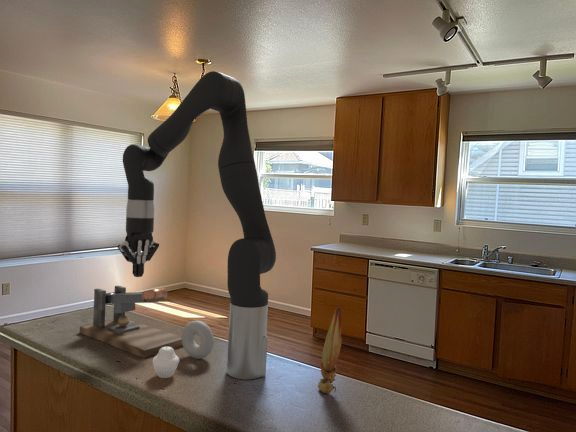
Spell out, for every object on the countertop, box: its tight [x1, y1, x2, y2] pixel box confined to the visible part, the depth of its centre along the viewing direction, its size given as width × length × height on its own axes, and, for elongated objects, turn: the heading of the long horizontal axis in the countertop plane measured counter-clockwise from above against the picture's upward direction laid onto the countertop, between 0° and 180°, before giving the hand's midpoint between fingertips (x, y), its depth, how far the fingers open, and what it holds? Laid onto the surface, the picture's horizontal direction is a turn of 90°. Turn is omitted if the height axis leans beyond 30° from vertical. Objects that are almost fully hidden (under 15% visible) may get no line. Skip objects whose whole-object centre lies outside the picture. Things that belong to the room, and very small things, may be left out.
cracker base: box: [79, 285, 183, 359], centre depth 130 cm, size 30×14×13 cm, turn 55°
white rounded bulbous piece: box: [152, 346, 180, 379], centre depth 106 cm, size 6×6×7 cm
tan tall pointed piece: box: [317, 306, 343, 395], centre depth 100 cm, size 7×5×20 cm
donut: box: [181, 320, 215, 360], centre depth 118 cm, size 10×4×10 cm, turn 61°
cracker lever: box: [105, 287, 168, 313], centre depth 130 cm, size 24×6×6 cm, turn 55°
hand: (138, 276), depth 128 cm, fingers closed
